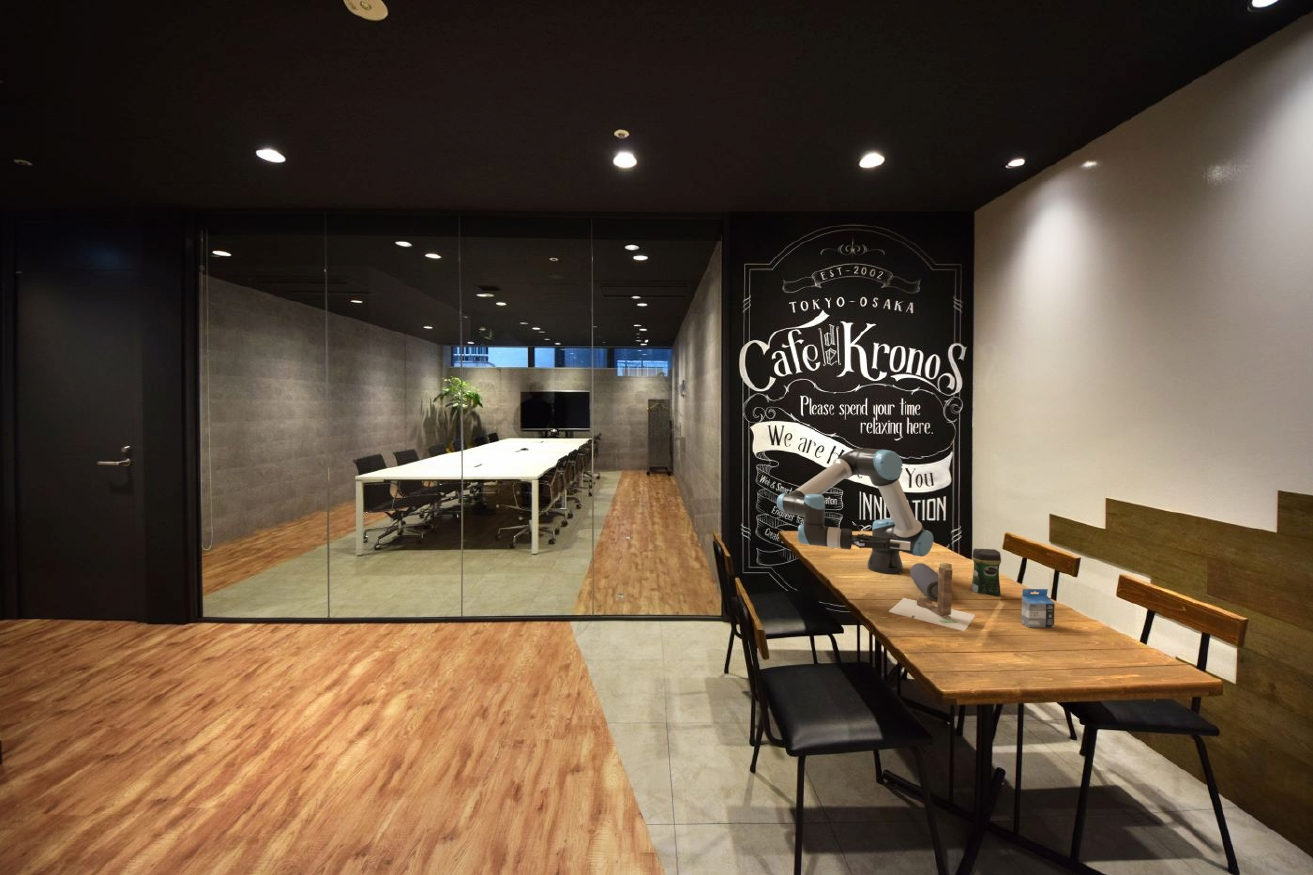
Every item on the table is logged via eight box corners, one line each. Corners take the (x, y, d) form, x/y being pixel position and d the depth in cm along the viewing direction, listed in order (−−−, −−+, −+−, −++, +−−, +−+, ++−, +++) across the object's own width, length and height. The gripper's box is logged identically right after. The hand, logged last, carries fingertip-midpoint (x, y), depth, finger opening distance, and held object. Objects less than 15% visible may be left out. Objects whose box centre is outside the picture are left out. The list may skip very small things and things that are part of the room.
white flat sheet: (888, 615, 185) (888, 611, 185) (903, 601, 199) (903, 597, 199) (964, 635, 169) (964, 630, 169) (975, 618, 183) (975, 614, 182)
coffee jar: (993, 591, 209) (995, 547, 208) (1003, 599, 202) (1005, 552, 200) (967, 590, 211) (969, 546, 210) (976, 597, 203) (978, 551, 202)
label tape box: (1028, 628, 175) (1030, 592, 174) (1020, 623, 179) (1021, 588, 179) (1054, 628, 175) (1056, 592, 174) (1045, 623, 179) (1047, 588, 178)
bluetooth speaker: (951, 606, 194) (952, 580, 194) (924, 604, 196) (925, 578, 196) (931, 585, 217) (932, 562, 216) (908, 584, 218) (908, 561, 218)
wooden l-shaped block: (913, 602, 193) (915, 553, 192) (926, 602, 194) (927, 552, 193) (942, 620, 177) (944, 567, 176) (956, 620, 177) (958, 566, 176)
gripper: (842, 544, 199) (909, 552, 189) (837, 552, 188) (909, 561, 177) (842, 524, 199) (910, 531, 188) (838, 532, 187) (910, 539, 177)
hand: (910, 546), depth 183 cm, fingers closed
